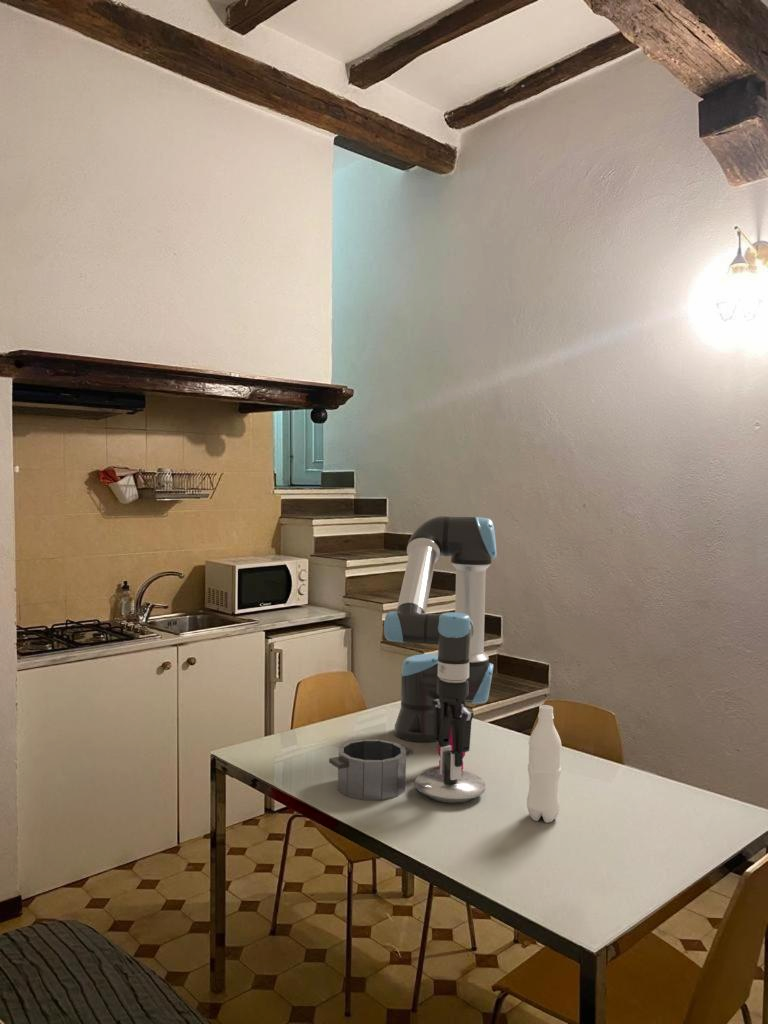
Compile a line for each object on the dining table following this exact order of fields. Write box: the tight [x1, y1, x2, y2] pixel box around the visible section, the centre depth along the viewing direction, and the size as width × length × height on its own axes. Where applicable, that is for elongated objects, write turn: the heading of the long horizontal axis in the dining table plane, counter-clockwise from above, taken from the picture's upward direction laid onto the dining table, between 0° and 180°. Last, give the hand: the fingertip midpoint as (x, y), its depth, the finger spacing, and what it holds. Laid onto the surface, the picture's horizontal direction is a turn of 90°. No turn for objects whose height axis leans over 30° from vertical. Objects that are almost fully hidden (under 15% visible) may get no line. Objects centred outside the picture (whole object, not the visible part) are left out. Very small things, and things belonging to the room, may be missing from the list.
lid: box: [415, 751, 486, 804], centre depth 189 cm, size 17×17×10 cm
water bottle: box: [526, 704, 562, 824], centre depth 176 cm, size 7×7×25 cm
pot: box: [328, 739, 415, 801], centre depth 192 cm, size 21×16×9 cm
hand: (450, 775), depth 189 cm, fingers closed on lid, 3 cm apart
